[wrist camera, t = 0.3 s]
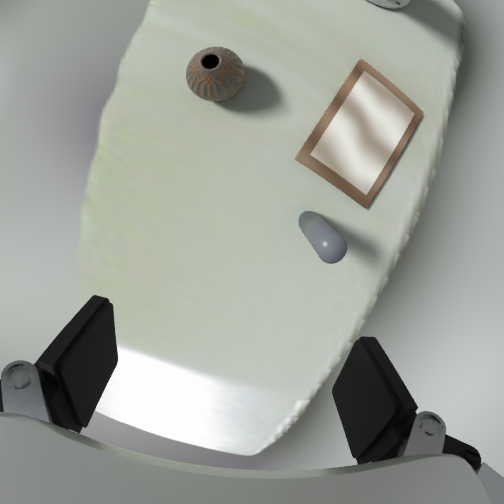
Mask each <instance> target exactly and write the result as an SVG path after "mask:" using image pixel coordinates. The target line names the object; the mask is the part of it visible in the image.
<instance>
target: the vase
mask: <svg viewBox="0 0 504 504" xmlns="http://www.w3.org/2000/svg"><path fill="white" fill-rule="evenodd" d="M186 79H187V83H188V86H189V87H190V89H191V90H192V92H193V93H194V94H196V95H197V96H198V97H200V98H202V99H204V100H207V101H223V100H226V99H228V98H230V97H232V96H234V95H235V94H236V93H237V92H238V91H239V90H240V88H241V87H242V85H243V82H244V79H245V68H244V64H243V62H242V60H241V59H240V58H239V56H238V55H237V54H235V53H234V52H233V51H231V50H229V49H226V48H223V47H210V48H206V49H204V50H202V51H200V52H198V53H197V54H196V55H195V56H194V57H193V58H192V59H191V60H190V62H189V64H188V67H187V70H186Z"/></svg>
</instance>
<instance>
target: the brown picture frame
mask: <svg viewBox="0 0 504 504" xmlns="http://www.w3.org/2000/svg"><path fill="white" fill-rule="evenodd" d="M422 114H423V111H422V110H421V109H420V108H419V107H418V106H417V105H416V104H415V103H413V102H412V101H411V100H410V99H409V98H408V97H407V96H406V95H405V94H404V93H403V92H402V91H400V90H399V89H398V88H397V87H396V86H395V85H394V84H392V83H391V82H390V81H389V80H388V79H387V78H385V77H384V76H383V75H382V74H380V73H379V72H378V71H377V70H375V69H374V68H373V67H372V66H370V65H369V64H368V63H366V62H365V61H364V60H362V59H361V60H359V61H358V63H357V64H356V66H355V67H354V69H353V70H352V72H351V73H350V75H349V76H348V78H347V80H346V81H345V83H344V84H343V86H342V87H341V89H340V90H339V92H338V93H337V95H336V96H335V98H334V99H333V101H332V102H331V104H330V105H329V107H328V108H327V110H326V111H325V113H324V115H323V116H322V118H321V119H320V121H319V122H318V124H317V125H316V127H315V128H314V130H313V131H312V133H311V135H310V136H309V138H308V139H307V141H306V142H305V144H304V145H303V147H302V149H301V150H300V152H299V153H298V155H297V156H296V158H295V159H296V160H297V161H299V162H300V163H302V164H303V165H305V166H306V167H308V168H309V169H311V170H312V171H314V172H315V173H317V174H318V175H320V176H321V177H323V178H324V179H325V180H327V181H328V182H330V183H331V184H333V185H334V186H335V187H337V188H338V189H340V190H341V191H342V192H344V193H345V194H347V195H348V196H349V197H351V198H352V199H353V200H355V201H356V202H357V203H359V204H360V205H361V206H363V207H364V208H367V207H368V205H369V204H370V202H371V201H372V199H373V197H374V196H375V194H376V193H377V191H378V190H379V188H380V186H381V185H382V183H383V182H384V180H385V178H386V177H387V175H388V173H389V172H390V170H391V168H392V167H393V165H394V163H395V162H396V160H397V158H398V157H399V155H400V153H401V152H402V150H403V148H404V146H405V145H406V143H407V141H408V139H409V138H410V136H411V134H412V132H413V130H414V129H415V127H416V125H417V123H418V121H419V120H420V118H421V116H422Z"/></svg>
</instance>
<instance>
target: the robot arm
mask: <svg viewBox="0 0 504 504" xmlns="http://www.w3.org/2000/svg"><path fill="white" fill-rule="evenodd" d="M368 1H370V2H372V3H374V4H376V5H379V6H382V7H385V8H390V9H398V8H402V7H404V6H406V5H407V4H408V3H409V2H410V1H411V0H368ZM117 362H118V353H117V345H116V335H115V325H114V312H113V304H112V303H109V299H108V298H105V297H101V296H97V295H94V296H92V297H91V298H90V300H89V301H88V302H87V303H86V304H85V305H84V306H83V307H82V308H81V309H80V311H79V312H78V313H77V314H76V315H75V316H74V317H73V319H72V320H71V321H70V322H69V323H68V324H67V325H66V326H65V327H64V328H63V330H62V331H61V332H60V333H59V334H58V336H57V337H56V338H55V339H54V340H53V342H52V343H51V344H50V345H49V346H48V348H47V349H46V350H45V351H44V353H43V354H42V355H41V356H40V358H39V359H38V360H37V362H36V363H35V364H34V365H33V364H31V363H30V362H27V361H23V360H19V361H14V362H12V363H10V364H8V365H7V366H6V367H5V368H4V369H3V371H2V374H1V379H0V504H504V477H502V476H501V475H500V474H498V473H497V472H496V471H495V470H493V469H492V468H491V467H489V466H488V465H487V464H486V463H484V462H483V463H482V464H481V457H480V454H479V452H478V451H477V450H476V449H475V448H474V447H472V446H470V445H468V444H466V443H463V442H461V441H459V440H457V439H455V438H453V437H450V436H448V435H446V434H445V433H446V426H445V423H444V421H443V420H442V419H441V418H440V417H439V416H438V415H437V414H435V413H433V412H428V411H424V412H420V413H419V414H418V415H417V414H416V412H415V411H416V410H417V408H418V407H417V405H416V403H415V401H414V399H413V398H412V396H411V394H410V393H409V391H408V389H407V388H406V386H405V384H404V383H403V381H402V380H401V378H400V376H399V374H398V373H397V371H396V369H395V368H394V366H393V364H392V363H391V361H390V360H389V358H388V356H387V355H386V353H385V352H384V350H383V349H382V347H381V345H380V344H379V342H378V341H377V339H376V338H375V337H364V336H363V337H360V338H359V340H356V341H355V343H354V345H353V347H352V349H351V352H350V354H349V356H348V358H347V360H346V362H345V364H344V366H343V368H342V370H341V372H340V374H339V376H338V378H337V380H336V382H335V384H334V386H333V389H332V394H333V398H334V401H335V404H336V407H337V410H338V413H339V416H340V419H341V422H342V425H343V428H344V431H345V435H346V438H347V441H348V444H349V447H350V450H351V454H352V456H353V458H356V460H357V463H358V465H353V466H345V467H337V468H327V469H315V470H293V471H261V470H240V469H228V468H218V467H209V466H202V465H195V464H188V463H182V462H177V461H171V460H166V459H162V458H157V457H153V456H149V455H144V454H140V453H137V452H133V451H129V450H126V449H122V448H119V447H116V446H112V445H109V444H106V443H103V442H100V441H97V440H94V439H91V438H88V437H86V436H83V435H80V434H78V433H80V431H81V429H82V427H85V428H86V427H87V425H88V423H89V421H90V419H91V417H92V415H93V413H94V410H95V408H96V406H97V404H98V402H99V400H100V398H101V396H102V393H103V391H104V389H105V387H106V385H107V383H108V381H109V379H110V377H111V375H112V373H113V371H114V369H115V367H116V365H117ZM69 429H70V430H73V431H75V432H77V433H75V432H72V431H70V430H69ZM370 462H371V463H370ZM359 464H360V465H359Z"/></svg>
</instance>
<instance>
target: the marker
mask: <svg viewBox="0 0 504 504" xmlns="http://www.w3.org/2000/svg"><path fill="white" fill-rule="evenodd" d="M299 227H300V229H301V230H302V232H303V233H304V235H305V236H306V237H307V239H308V240H309V242H310V243H311V245H312V246H313V248H314V249H315V251H316V252H317V254H318V255H319V257H320V258H321V260H322V261H324V262H326V263H329V264H333V263H337V262H339V261H340V260H342V259H343V257H344V256H345V254H346V251H347V244H346V241H345V240H344V239H343V238H342V237H341V236H340V235H339V234H338V233H337V232H336V231H335V230H334V229H333V228H332V227H331V226H330V225H329V224H328V223H327V222H325V221H324V220H323V219H322V218H321V217H320V216H319V215H318V214H317V213H315V212H312V211H306V212H303V213H302V214H301V215H300V217H299Z"/></svg>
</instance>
